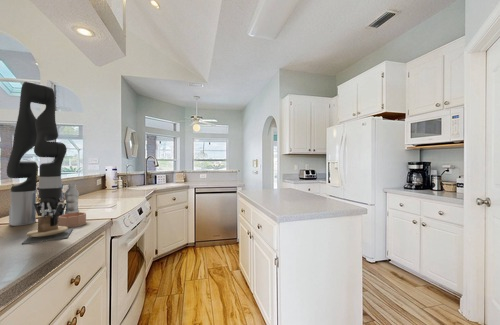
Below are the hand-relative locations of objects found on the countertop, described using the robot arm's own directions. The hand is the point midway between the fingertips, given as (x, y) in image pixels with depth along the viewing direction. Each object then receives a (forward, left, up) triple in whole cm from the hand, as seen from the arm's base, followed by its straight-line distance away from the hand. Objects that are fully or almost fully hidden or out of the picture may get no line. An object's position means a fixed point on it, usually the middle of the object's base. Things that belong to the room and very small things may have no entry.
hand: (49, 225), depth 95 cm
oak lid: (0, -1, -3) cm, 3 cm away
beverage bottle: (-27, +27, -5) cm, 38 cm away
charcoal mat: (0, 0, -5) cm, 5 cm away
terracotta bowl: (-7, +18, -5) cm, 20 cm away
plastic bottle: (-18, +29, -5) cm, 34 cm away
